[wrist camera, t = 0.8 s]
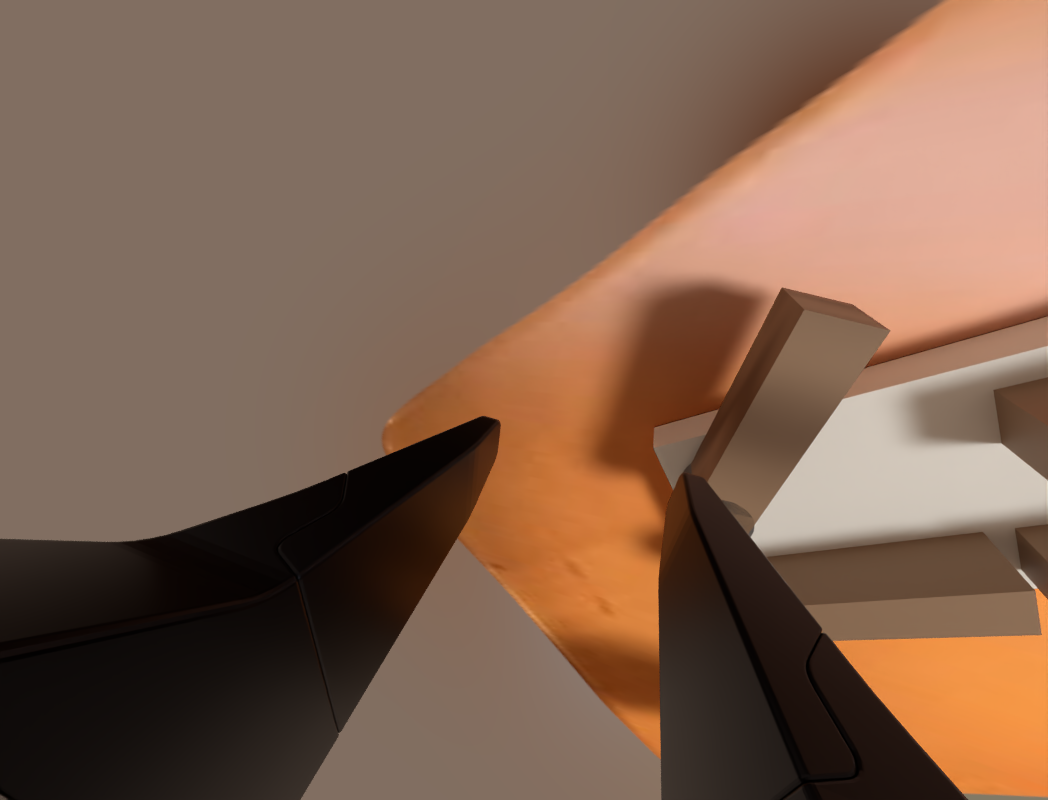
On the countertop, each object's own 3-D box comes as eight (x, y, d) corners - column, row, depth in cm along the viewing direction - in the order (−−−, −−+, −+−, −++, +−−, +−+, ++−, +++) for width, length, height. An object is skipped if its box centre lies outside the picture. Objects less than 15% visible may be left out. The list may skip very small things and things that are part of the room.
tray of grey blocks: (1429, 512, 15) (1735, 648, 10) (725, 580, 26) (736, 658, 22) (1511, 185, 11) (2022, 191, 7) (654, 427, 22) (651, 486, 18)
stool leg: (728, 510, 21) (736, 557, 18) (672, 492, 21) (673, 534, 19) (857, 305, 15) (895, 332, 12) (777, 286, 15) (799, 308, 13)
